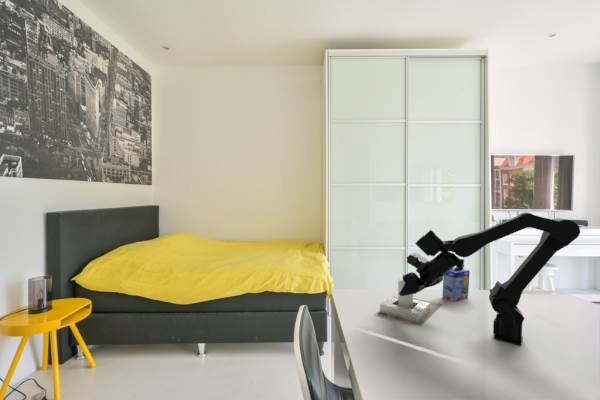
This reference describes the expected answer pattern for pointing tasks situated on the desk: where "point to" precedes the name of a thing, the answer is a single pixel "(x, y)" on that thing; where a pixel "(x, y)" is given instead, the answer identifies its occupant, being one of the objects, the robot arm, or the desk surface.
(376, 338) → the desk surface
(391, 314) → the grey square frame
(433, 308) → the mount board
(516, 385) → the desk surface
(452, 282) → the ink cartridge box
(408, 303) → the white bottle
